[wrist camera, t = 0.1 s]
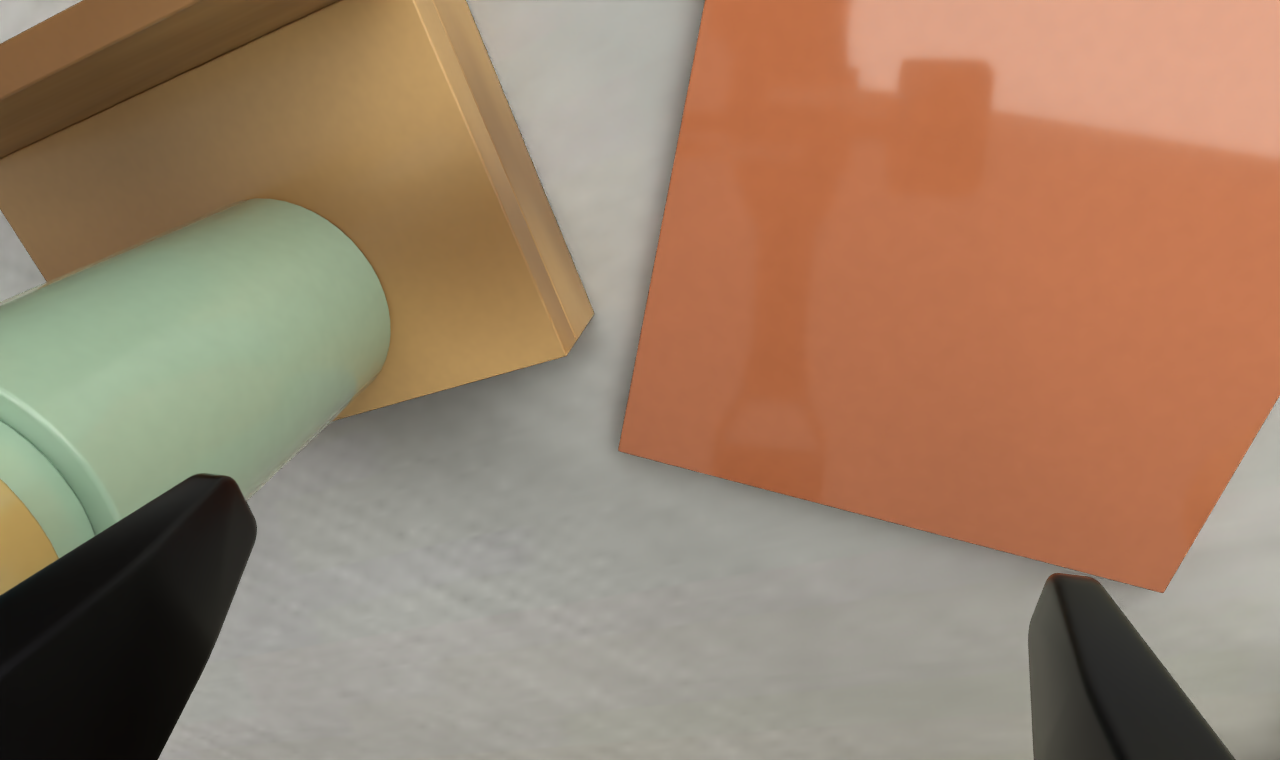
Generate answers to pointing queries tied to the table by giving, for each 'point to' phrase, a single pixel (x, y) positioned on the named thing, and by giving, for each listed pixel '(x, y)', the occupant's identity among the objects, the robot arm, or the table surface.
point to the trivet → (974, 267)
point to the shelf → (299, 160)
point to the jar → (177, 370)
